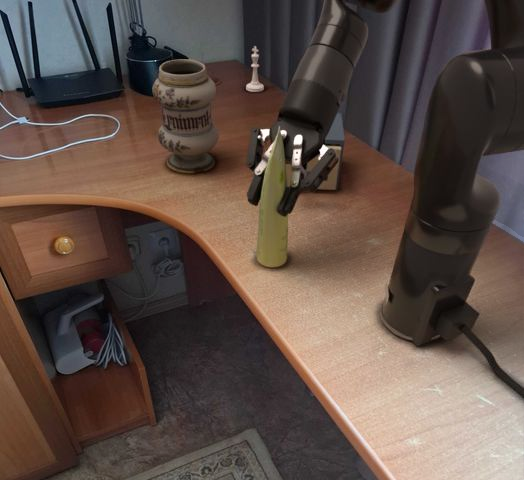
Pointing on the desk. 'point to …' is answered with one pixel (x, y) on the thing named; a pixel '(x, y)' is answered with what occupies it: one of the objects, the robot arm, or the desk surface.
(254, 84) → the chess piece
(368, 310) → the desk surface
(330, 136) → the mini filing cabinet
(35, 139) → the desk surface
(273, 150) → the tube
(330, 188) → the drawer
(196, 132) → the apothecary jar
